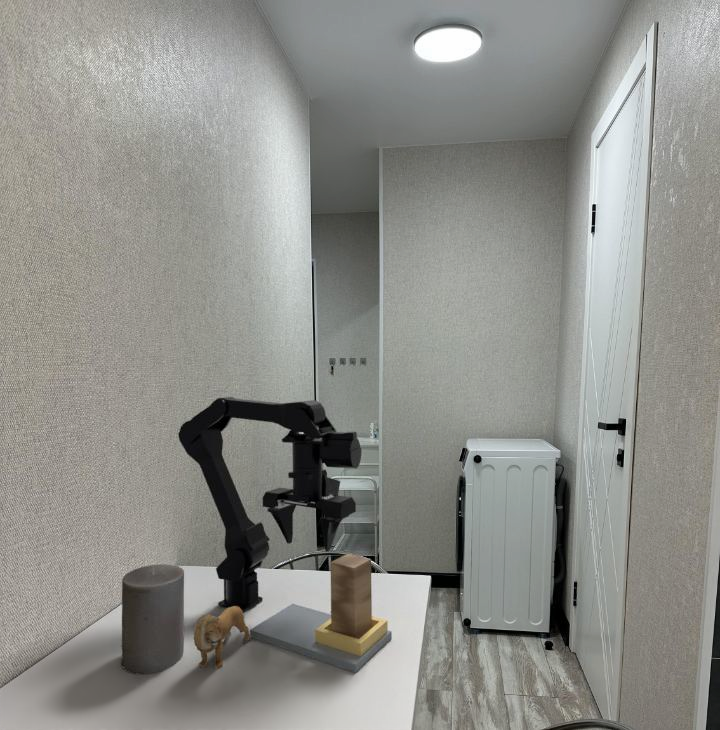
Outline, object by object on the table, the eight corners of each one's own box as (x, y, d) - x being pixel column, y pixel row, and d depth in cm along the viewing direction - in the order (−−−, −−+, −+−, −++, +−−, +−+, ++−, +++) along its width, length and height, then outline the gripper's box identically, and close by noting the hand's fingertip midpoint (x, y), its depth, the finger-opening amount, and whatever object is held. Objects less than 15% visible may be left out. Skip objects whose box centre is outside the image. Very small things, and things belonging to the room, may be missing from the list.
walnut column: (331, 638, 89) (330, 562, 89) (348, 626, 93) (347, 553, 93) (355, 647, 86) (354, 568, 86) (372, 634, 90) (371, 559, 91)
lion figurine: (217, 683, 79) (217, 623, 79) (185, 679, 80) (184, 620, 80) (254, 634, 93) (254, 584, 93) (227, 632, 94) (226, 582, 94)
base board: (250, 636, 93) (249, 618, 93) (292, 609, 103) (292, 593, 103) (355, 672, 81) (355, 651, 81) (391, 638, 91) (391, 619, 91)
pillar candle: (107, 667, 83) (107, 573, 83) (152, 637, 93) (152, 553, 93) (155, 680, 80) (155, 582, 80) (197, 648, 89) (197, 560, 89)
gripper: (370, 463, 103) (371, 542, 103) (295, 456, 113) (296, 528, 113) (338, 473, 94) (339, 560, 93) (260, 464, 103) (261, 543, 103)
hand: (308, 546), depth 101 cm, fingers open, 9 cm apart
